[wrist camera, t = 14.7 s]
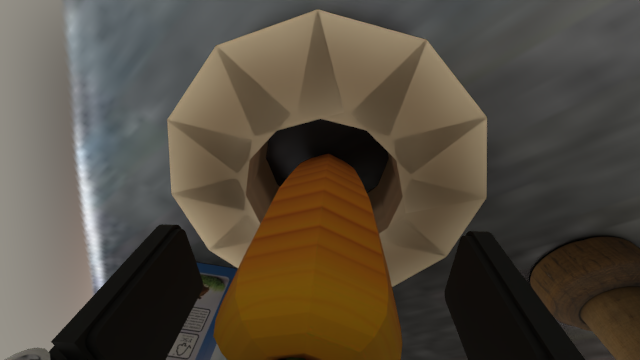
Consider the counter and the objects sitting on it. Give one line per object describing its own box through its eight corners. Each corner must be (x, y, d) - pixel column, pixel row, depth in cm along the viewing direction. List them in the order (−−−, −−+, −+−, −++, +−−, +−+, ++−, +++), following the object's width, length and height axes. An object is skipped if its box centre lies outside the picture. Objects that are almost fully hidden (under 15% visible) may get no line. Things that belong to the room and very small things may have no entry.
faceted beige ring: (457, 226, 18) (486, 275, 14) (263, 260, 20) (247, 308, 17) (442, -29, 11) (488, -52, 8) (159, 71, 14) (99, 86, 10)
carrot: (287, 114, 15) (-142, 788, 2) (378, 124, 15) (658, 935, 2) (285, 191, 17) (105, 701, 4) (363, 199, 17) (424, 754, 4)
